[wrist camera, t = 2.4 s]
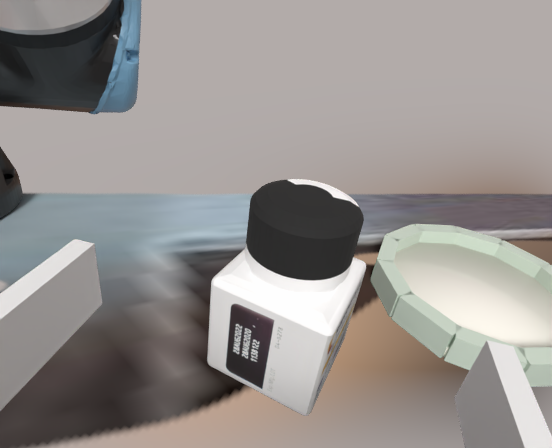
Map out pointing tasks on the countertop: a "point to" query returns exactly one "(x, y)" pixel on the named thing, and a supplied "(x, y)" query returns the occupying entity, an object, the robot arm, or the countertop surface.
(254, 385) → the container
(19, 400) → the countertop surface
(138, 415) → the countertop surface
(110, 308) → the countertop surface
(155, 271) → the countertop surface
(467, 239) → the round tray
